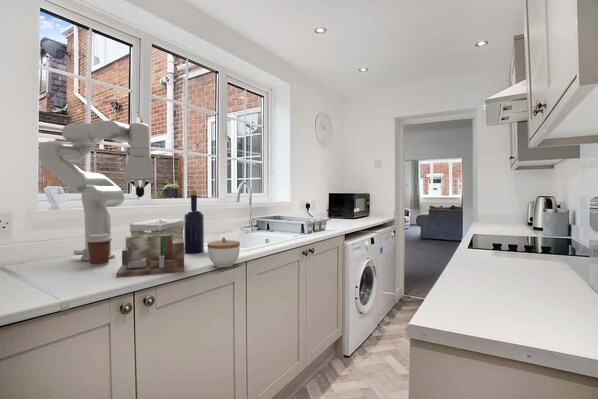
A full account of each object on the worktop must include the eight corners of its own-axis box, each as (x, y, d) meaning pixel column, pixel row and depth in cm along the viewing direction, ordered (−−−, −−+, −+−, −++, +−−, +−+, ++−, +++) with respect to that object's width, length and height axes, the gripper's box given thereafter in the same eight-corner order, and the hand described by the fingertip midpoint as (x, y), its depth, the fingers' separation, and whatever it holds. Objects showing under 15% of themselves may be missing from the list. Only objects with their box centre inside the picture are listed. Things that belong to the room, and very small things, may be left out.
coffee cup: (117, 261, 133) (117, 233, 132) (101, 267, 124) (101, 236, 123) (97, 261, 134) (96, 232, 133) (80, 266, 125) (79, 236, 124)
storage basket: (161, 255, 146) (160, 223, 146) (128, 254, 148) (127, 223, 147) (185, 246, 170) (185, 219, 169) (156, 246, 172) (156, 218, 171)
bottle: (208, 251, 155) (207, 190, 154) (192, 254, 148) (192, 190, 147) (195, 249, 160) (195, 190, 159) (180, 252, 153) (179, 190, 152)
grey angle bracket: (121, 270, 111) (120, 251, 110) (126, 263, 121) (126, 246, 121) (145, 269, 113) (145, 250, 113) (148, 262, 124) (148, 245, 124)
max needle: (159, 267, 115) (159, 241, 115) (159, 267, 116) (159, 240, 116) (164, 267, 115) (163, 241, 115) (164, 266, 117) (164, 240, 116)
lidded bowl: (232, 270, 120) (232, 240, 120) (201, 268, 123) (201, 239, 122) (244, 262, 132) (244, 236, 132) (216, 261, 135) (216, 235, 135)
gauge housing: (116, 277, 109) (115, 242, 109) (123, 267, 123) (123, 236, 123) (184, 271, 117) (184, 239, 117) (183, 263, 131) (183, 234, 131)
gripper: (117, 151, 128) (118, 197, 128) (158, 153, 133) (158, 197, 133) (120, 153, 135) (121, 196, 135) (159, 154, 140) (159, 196, 140)
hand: (140, 196), depth 134 cm, fingers closed
